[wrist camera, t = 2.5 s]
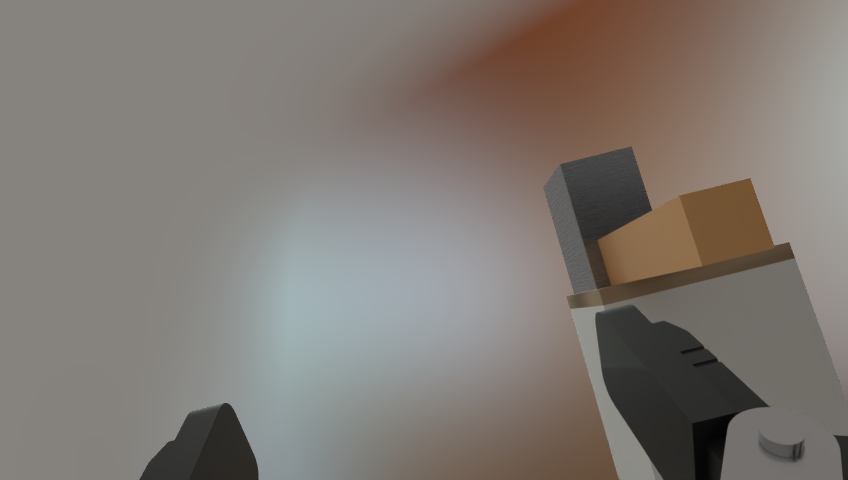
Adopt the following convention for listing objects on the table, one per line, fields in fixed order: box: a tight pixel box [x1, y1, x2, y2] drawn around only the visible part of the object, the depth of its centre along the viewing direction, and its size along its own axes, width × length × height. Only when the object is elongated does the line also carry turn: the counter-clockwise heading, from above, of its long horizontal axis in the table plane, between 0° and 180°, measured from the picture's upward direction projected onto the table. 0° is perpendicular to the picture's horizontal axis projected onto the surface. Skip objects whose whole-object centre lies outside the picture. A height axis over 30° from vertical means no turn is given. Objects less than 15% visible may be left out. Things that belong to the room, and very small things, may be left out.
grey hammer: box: [544, 147, 775, 294], centre depth 26 cm, size 15×4×7 cm, turn 177°
